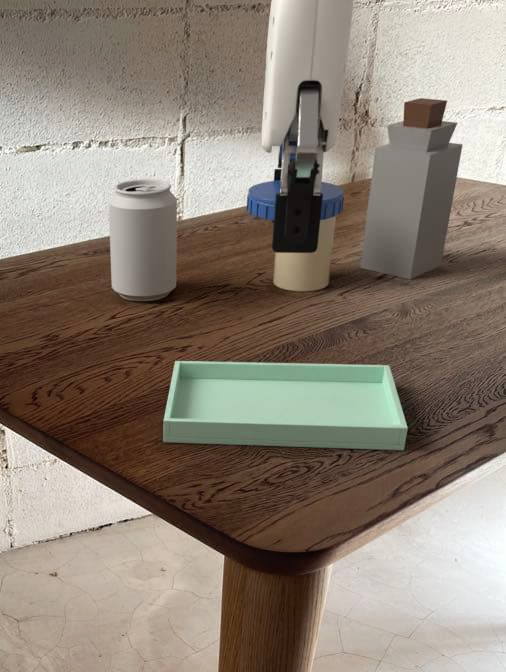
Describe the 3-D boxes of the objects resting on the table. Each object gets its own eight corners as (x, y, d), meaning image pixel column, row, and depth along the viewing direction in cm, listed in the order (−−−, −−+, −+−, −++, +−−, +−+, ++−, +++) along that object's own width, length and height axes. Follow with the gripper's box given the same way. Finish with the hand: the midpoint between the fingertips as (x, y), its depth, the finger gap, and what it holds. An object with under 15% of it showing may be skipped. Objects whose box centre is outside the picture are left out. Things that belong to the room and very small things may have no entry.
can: (149, 277, 106) (147, 172, 99) (189, 292, 100) (191, 183, 94) (99, 292, 102) (94, 184, 95) (138, 308, 97) (136, 196, 90)
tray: (386, 385, 78) (389, 364, 77) (404, 450, 69) (407, 427, 67) (175, 380, 81) (175, 360, 80) (163, 442, 71) (163, 420, 70)
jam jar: (327, 273, 104) (336, 183, 98) (330, 291, 99) (340, 198, 93) (272, 273, 105) (278, 184, 99) (273, 291, 100) (280, 198, 94)
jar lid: (245, 222, 63) (247, 202, 62) (247, 198, 69) (248, 179, 68) (345, 222, 62) (348, 202, 61) (338, 198, 68) (340, 179, 67)
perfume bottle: (410, 279, 101) (437, 108, 91) (360, 267, 105) (381, 103, 95) (440, 265, 105) (470, 99, 94) (391, 254, 109) (414, 94, 99)
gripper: (258, -46, 64) (244, 207, 74) (258, -39, 50) (240, 272, 60) (364, -50, 63) (335, 207, 73) (394, -44, 49) (353, 273, 59)
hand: (292, 234), depth 66 cm, fingers closed on jar lid, 6 cm apart
